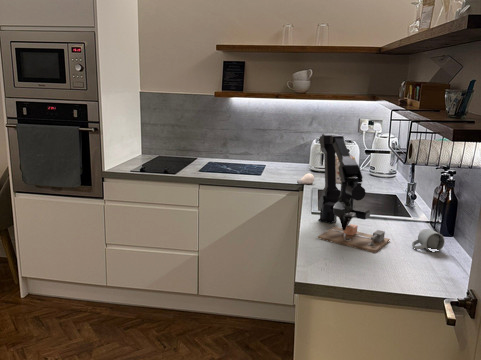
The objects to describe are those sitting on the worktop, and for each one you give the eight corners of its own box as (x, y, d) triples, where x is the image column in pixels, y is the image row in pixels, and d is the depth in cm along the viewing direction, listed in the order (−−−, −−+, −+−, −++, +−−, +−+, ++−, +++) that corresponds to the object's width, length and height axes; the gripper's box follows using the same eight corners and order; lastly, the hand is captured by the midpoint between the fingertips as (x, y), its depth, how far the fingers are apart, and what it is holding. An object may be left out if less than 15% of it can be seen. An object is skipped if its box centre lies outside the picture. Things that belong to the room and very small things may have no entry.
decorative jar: (354, 183, 291) (357, 154, 286) (335, 183, 291) (337, 154, 287) (350, 179, 302) (352, 151, 298) (331, 178, 302) (334, 150, 298)
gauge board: (317, 238, 194) (318, 227, 193) (334, 228, 207) (335, 218, 206) (375, 252, 181) (376, 241, 180) (389, 241, 194) (390, 230, 193)
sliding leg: (340, 237, 192) (340, 230, 192) (350, 230, 200) (350, 223, 200) (347, 238, 191) (348, 231, 190) (356, 232, 199) (357, 225, 198)
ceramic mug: (432, 244, 192) (434, 226, 190) (443, 252, 184) (446, 233, 182) (407, 245, 191) (409, 227, 189) (417, 253, 183) (419, 234, 181)
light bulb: (297, 177, 281) (314, 171, 284) (293, 177, 287) (309, 171, 290) (301, 188, 282) (317, 182, 284) (296, 187, 288) (312, 181, 291)
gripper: (317, 193, 194) (315, 230, 198) (361, 202, 184) (358, 240, 187) (329, 188, 203) (326, 223, 207) (372, 196, 193) (368, 233, 196)
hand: (344, 230), depth 199 cm, fingers closed
